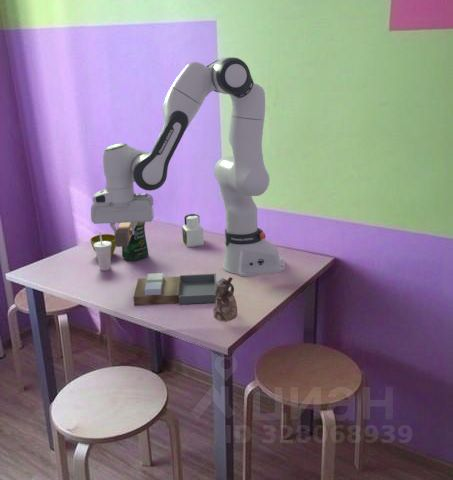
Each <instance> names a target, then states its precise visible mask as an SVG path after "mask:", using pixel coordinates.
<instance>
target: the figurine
mask: <svg viewBox="0 0 453 480" xmlns="http://www.w3.org/2000/svg"><path fill="white" fill-rule="evenodd" d="M232 280H233V277H231V276H229V277H228V279H226V278H224V277H223V278H220V279H219V280H218V281H216V283H217V288H216V292H215V293H214V295H215V296H216V299H215V303H214V307H213V318H214V319H215V320H216V321H220V322H229V321H233V320H235V318H237V315H238V305H237V300H236V297H235V295H234V293H235V287H234V285H233V284H232V283H231V282H232ZM229 288H230V290H229Z"/></svg>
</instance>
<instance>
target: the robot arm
mask: <svg viewBox="0 0 453 480" xmlns="http://www.w3.org/2000/svg"><path fill="white" fill-rule="evenodd" d="M212 92H215V93H220V94H224V95H228V96H229V97H230V99H231V107H232V108H231V112H230V121H229V122H230V123H229V124H230V125H229V132H228V141H229V145H230V146H231V149H232V155H233V156H225V157H221V158H220V159H219V160H218V161H216V163H215V165H214V168H213V174H214V177H215V179H216V181H217V182H218V185H219V189H220V192H221V196H222V200H223V201H222V202H223V204H224V205H223V206H224V211H225V229H224V244H225V255H224V259H223V264H222V268H223V269H224V270H225V271H226V272H228V273H232V274H236V275H238V276H240V277H244V278H245V277H253V276H260V275H268V274H276V273H282V272H284V271H285V270H286V263H285V260H284V258H282V257H281V256H280V254H279V251H278V249H277V247H276V246H275V245H274V244H272V242H270V241H268V240H266V233H265V232H264V230H262V228H261V227H259V228H258V206H257V204H256V203H255V200H254V199H253V197H259V196H261V195H263V194H264V193H266V191H267V190H268V188H269V186H270V174H269V173H268V170H267V168H266V166H265V162H264V161H265V160H264V156H263V146H262V145H263V144H262V143H263V135H264V132H263V131H264V125H265V124H264V123H265V116H266V115H265V114H266V92H265V90H264V88H263V87H262V86H261V85H260V84H257V83H254V79H253V77H252V74H251V71H250V68H249V66H248V65H247V63H246V62H245V61H243V59H241V58H238V57H229V56H228V57H223V58H221V59H217V60H215V61H213V62H212V63H210V64H207V65H204V64H203V63H200V62H197V61H192V62H189V63H187V65H186V66H185V67H184V68H183V69H182V70H181V71H180V73H179V74H178V76H176V78H175V80H174V81H173V83H172V85H171V86H170V88H169V89H168V91H167V94H166V96H165V98H164V101H163V105H162V113H163V123H162V124H163V125H162V129H161V131H160V133H159V134H158V137H157V139H156V140H155V143H154V145H153V147H152V149H151V151H150V152H149V151H145V150H141V149H137V148H134V147H132V146H130V145H128V144H127V143H125V142H120V143H119V142H118V143H115V144H114V143H113V144H112V145H109V146H107V147H106V148H105V150H103V154H102V155H103V156H102V163H103V174H104V177H105V189H102V190H99V191H97V192H95V193H94V194H93V196H92V198H91V199H92V205H91V207H90V220H91V223H92V224H95V225H97V224H109V227H110V228H111V230H112V231H113V233H114V234H113V235H115V232H116V230H117V229H118V227H116V224H117V223H118V224H120V223H126V222H132V225H133V227H132V228H130V229H129V232H130V233H129V235H134V228H135V226H136V224H137V222H145V223H147V222H152V221H153V220H154V216H155V213H154V207H153V206H154V198H153V196H152V195H150V194H149V193H135V189H134V183H135V184H136V186H137V187H139V188H140V189H142V190H145V191H156V190H157V189H160V188H161V187H162V186H163V185H164V184H165V182H166V181H167V178H168V168H169V164H170V162H171V160H172V157H173V155H174V153H175V151H176V149H177V148H178V146H179V144H180V141H181V140H182V138H183V137H184V133H185V132H186V130H187V129H188V127H189V126H190V125H191V123H192V122H193V120H194V118H195V117H196V116H197V113H198V112H199V110H200V109H201V107H202V105H203V104H204V101H205V100H206V97H207V96H208V95H209V94H210V93H212Z"/></svg>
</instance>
